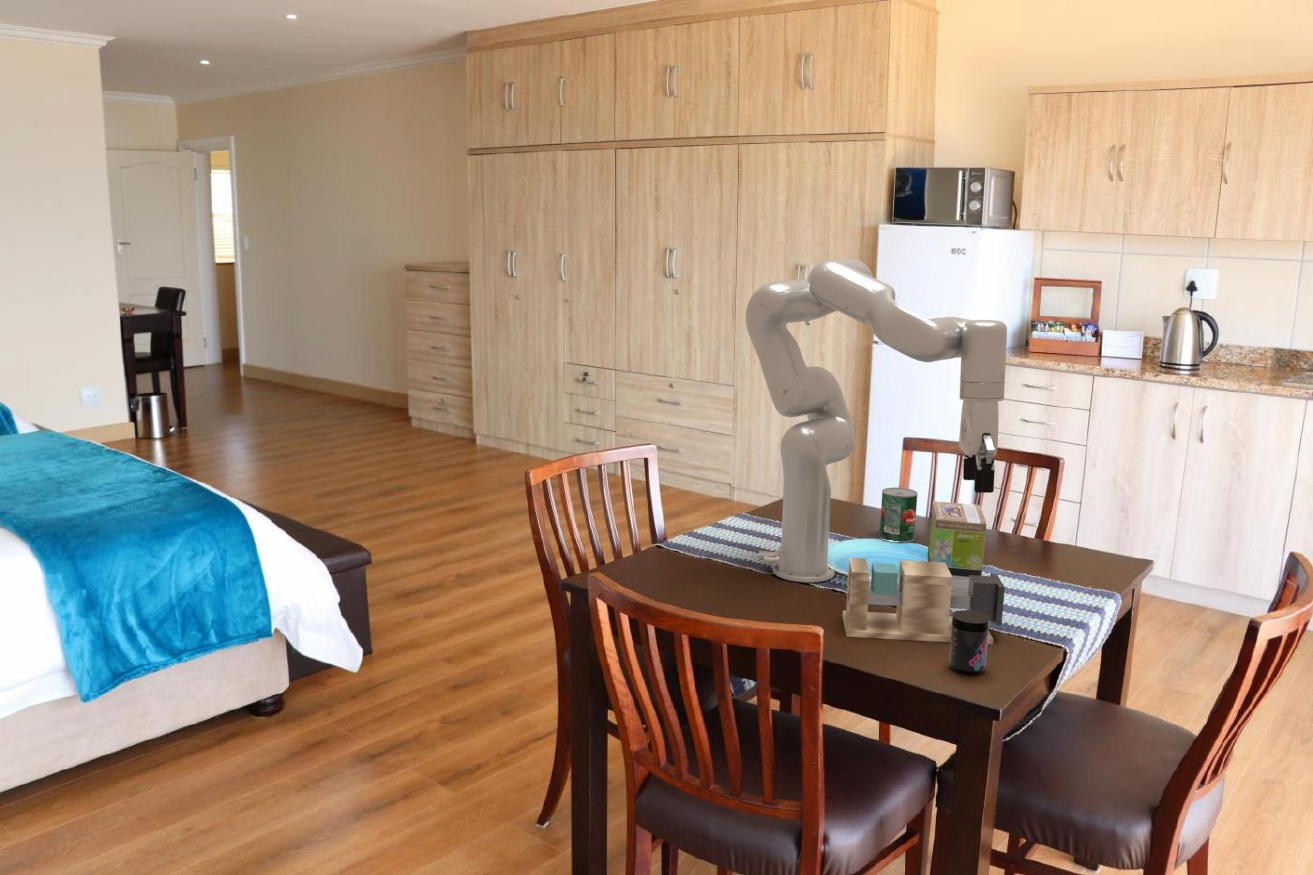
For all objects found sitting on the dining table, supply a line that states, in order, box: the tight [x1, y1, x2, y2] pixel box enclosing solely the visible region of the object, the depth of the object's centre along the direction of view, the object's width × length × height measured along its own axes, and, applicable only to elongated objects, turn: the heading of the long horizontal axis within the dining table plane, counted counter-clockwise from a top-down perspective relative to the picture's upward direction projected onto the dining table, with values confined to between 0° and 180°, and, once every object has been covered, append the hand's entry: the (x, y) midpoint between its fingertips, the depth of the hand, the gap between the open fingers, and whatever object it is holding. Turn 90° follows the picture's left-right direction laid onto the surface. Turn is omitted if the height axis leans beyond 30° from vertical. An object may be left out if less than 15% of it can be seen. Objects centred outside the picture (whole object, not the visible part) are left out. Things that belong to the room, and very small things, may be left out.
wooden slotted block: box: [842, 557, 994, 646], centre depth 190 cm, size 25×10×12 cm, turn 84°
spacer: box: [870, 562, 899, 595], centre depth 190 cm, size 4×5×4 cm
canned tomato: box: [878, 486, 918, 544], centre depth 245 cm, size 8×8×11 cm
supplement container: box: [948, 609, 991, 676], centre depth 174 cm, size 6×6×9 cm
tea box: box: [926, 501, 987, 592], centre depth 216 cm, size 15×10×15 cm, turn 168°
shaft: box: [868, 573, 1006, 626], centre depth 190 cm, size 26×7×7 cm, turn 84°
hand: (977, 485), depth 192 cm, fingers open, 9 cm apart
